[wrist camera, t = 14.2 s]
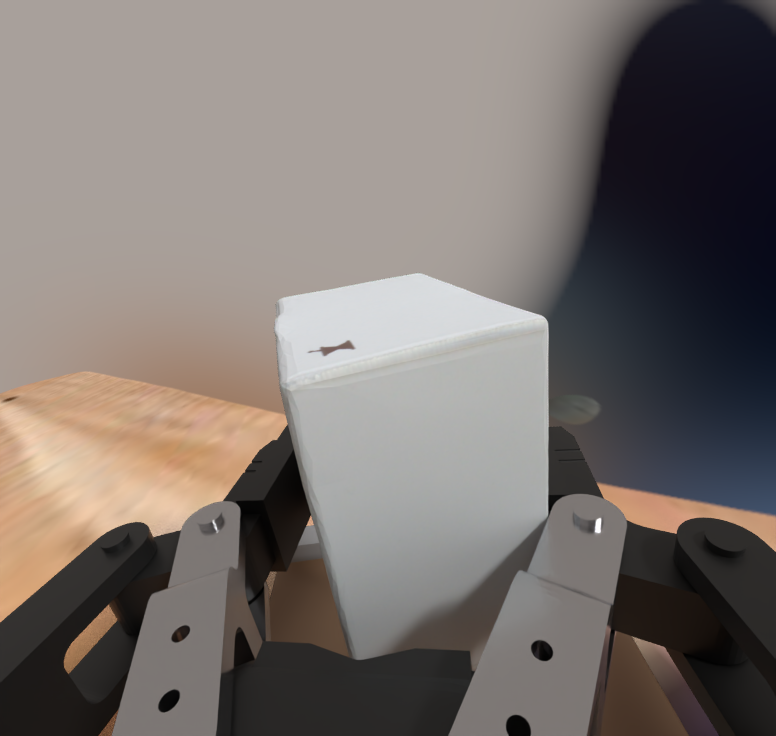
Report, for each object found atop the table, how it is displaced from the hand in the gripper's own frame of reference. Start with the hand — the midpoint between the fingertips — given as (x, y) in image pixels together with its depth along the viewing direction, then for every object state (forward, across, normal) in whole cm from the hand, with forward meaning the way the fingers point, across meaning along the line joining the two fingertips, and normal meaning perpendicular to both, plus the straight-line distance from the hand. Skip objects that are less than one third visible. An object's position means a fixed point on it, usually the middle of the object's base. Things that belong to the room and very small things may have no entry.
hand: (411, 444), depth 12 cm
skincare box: (-2, 0, +7) cm, 8 cm away
